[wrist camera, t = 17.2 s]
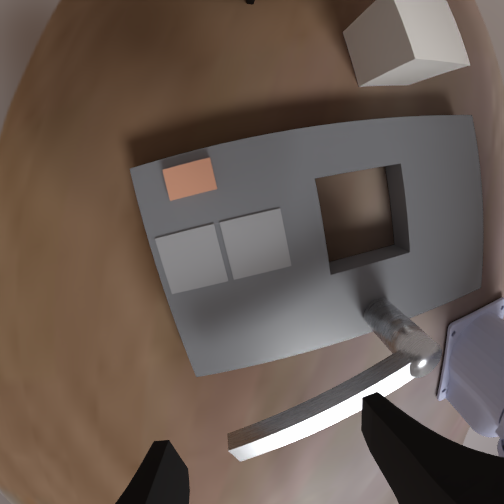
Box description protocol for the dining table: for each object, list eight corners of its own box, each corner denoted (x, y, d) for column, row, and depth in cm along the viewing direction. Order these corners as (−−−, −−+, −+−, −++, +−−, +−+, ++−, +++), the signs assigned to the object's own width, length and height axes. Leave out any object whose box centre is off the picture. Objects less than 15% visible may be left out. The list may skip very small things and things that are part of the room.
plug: (408, 85, 17) (470, 65, 10) (358, 86, 16) (415, 58, 10) (392, 34, 16) (446, 0, 9) (342, 32, 15) (388, -12, 9)
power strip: (465, 279, 21) (485, 290, 18) (198, 359, 20) (195, 382, 18) (454, 117, 17) (477, 114, 15) (139, 168, 17) (126, 168, 14)
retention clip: (387, 292, 18) (439, 336, 12) (394, 316, 18) (443, 362, 13) (221, 378, 18) (224, 446, 13) (237, 397, 19) (243, 464, 13)
